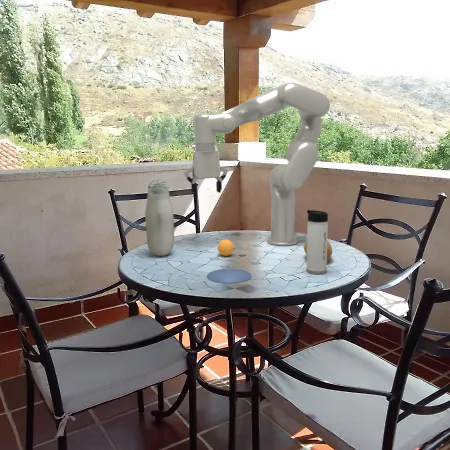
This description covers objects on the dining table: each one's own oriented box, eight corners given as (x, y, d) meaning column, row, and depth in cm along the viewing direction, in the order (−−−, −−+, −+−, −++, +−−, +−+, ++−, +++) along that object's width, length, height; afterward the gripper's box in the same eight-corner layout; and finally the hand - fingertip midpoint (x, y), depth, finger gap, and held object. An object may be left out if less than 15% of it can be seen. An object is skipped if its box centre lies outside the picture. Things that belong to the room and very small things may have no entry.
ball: (233, 253, 165) (233, 237, 164) (234, 257, 159) (234, 241, 158) (217, 253, 165) (217, 238, 163) (217, 257, 159) (217, 241, 158)
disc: (249, 268, 145) (249, 268, 145) (253, 282, 132) (253, 281, 132) (206, 269, 145) (206, 269, 145) (206, 283, 131) (206, 283, 131)
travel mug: (304, 268, 144) (305, 208, 140) (324, 268, 144) (326, 208, 140) (306, 274, 138) (308, 212, 134) (328, 274, 138) (330, 211, 134)
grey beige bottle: (144, 253, 167) (140, 179, 161) (171, 250, 170) (168, 178, 165) (150, 259, 158) (146, 181, 152) (178, 256, 161) (175, 180, 156)
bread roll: (307, 266, 148) (307, 243, 146) (300, 254, 163) (301, 233, 161) (335, 265, 148) (336, 242, 146) (327, 254, 162) (327, 233, 161)
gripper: (185, 149, 159) (187, 195, 163) (230, 147, 165) (231, 192, 169) (180, 148, 166) (182, 193, 170) (223, 146, 172) (224, 190, 175)
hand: (206, 193), depth 169 cm, fingers open, 9 cm apart
